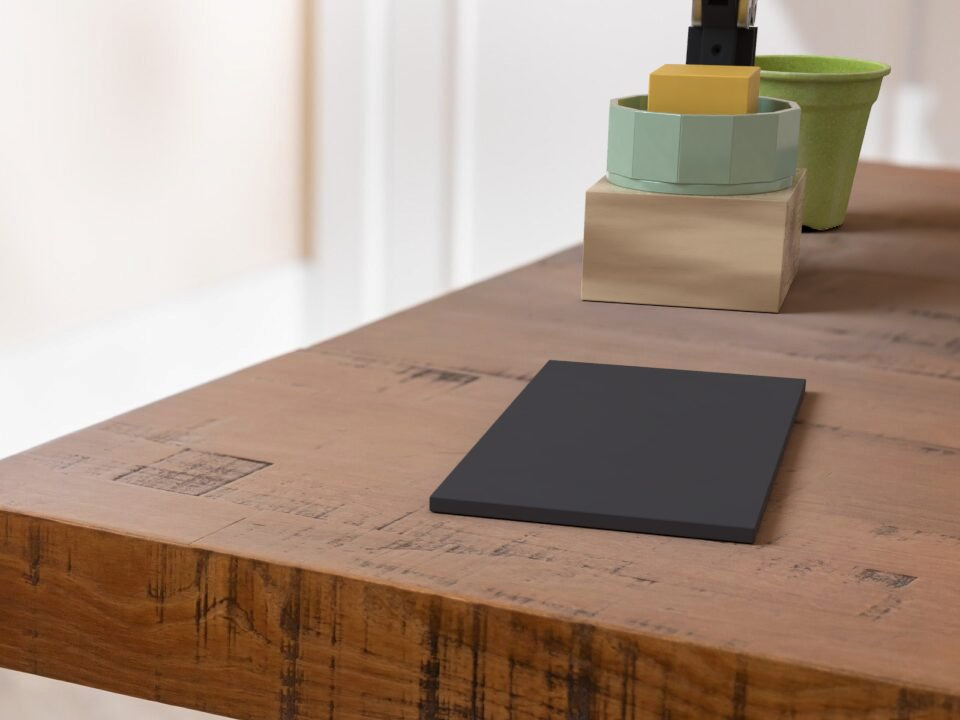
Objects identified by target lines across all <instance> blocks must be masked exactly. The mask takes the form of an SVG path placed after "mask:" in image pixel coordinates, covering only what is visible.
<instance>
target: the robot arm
mask: <svg viewBox="0 0 960 720" xmlns="http://www.w3.org/2000/svg"><path fill="white" fill-rule="evenodd" d="M757 9H758V0H692V1H691V18H690V19H691V20H690V22H691V23H690V24H691V25H690V26H688V28H687V41H686V55H685V65H718V66H752V67H754V66H755V55H757V54H756V53H757V42H758V33H759V32H758V30H759V26H755V24H756V18H757Z"/></svg>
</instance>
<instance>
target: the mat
mask: <svg viewBox="0 0 960 720" xmlns="http://www.w3.org/2000/svg"><path fill="white" fill-rule="evenodd" d="M806 386H807V379H806V378H797V377H784V376H782V377H781V376H772V375H771V376H770V375H759V374H758V375H757V374H744V373H732V372H731V373H729V372H719V371H718V372H717V371H703V370H690V369H679V368H678V369H676V368H666V367H665V368H664V367H651V366H638V365H625V364H610V363H600V362H599V363H597V362H586V361H585V362H582V361H571V360H559V359H548V360H547V362H545V364H544V365H543V366H542V367H541V368H540V370H538V372H537V373H536V374H535V376H533V378H532V379H531V380H530V381H529V382H528V383H527V385H525V387H524V388H523V389H522V390H521V391H520V393H518V395H517V396H516V397H515V398H514V399H513V401H511V403H510V404H509V405H508V406H507V407H506V409H504V411H503V412H502V413H501V414H500V415H499V416H498V417H497V418H496V420H495V422H493V423H492V424H491V426H490V427H489V428H488V429H487V430H486V432H485V433H484V434H483V435H482V436H481V437H480V438H479V439H478V441H477V442H476V443H475V444H474V445H473V446H472V448H471V449H469V451H468V452H467V453H466V455H464V457H463V458H462V459H461V460H460V461H459V462H458V464H457V465H456V466H455V467H454V468H453V469H452V470H451V472H450V473H449V474H448V475H447V476H446V477H445V478H444V479H443V480H442V482H441V483H440V484H439V485H438V486H437V488H436V489H435V490H434V491H433V492H432V493H431V495H430V496H429V504H428V510H429V512H433V513H434V512H435V513H445V514H454V515H455V514H456V515H464V516H474V517H475V516H476V517H484V518H496V519H503V520H504V519H505V520H515V521H524V522H534V523H546V524H554V525H555V524H556V525H564V526H576V527H586V528H593V529H594V528H596V529H605V530H613V531H614V530H616V531H624V532H625V531H627V532H635V533H645V534H656V535H664V536H665V535H667V536H674V537H675V536H676V537H685V538H694V539H695V538H696V539H703V540H704V539H706V540H714V541H726V542H736V543H744V544H745V543H746V544H754V543H755V541H756V537H757V534H758V532H759V528H760V525H761V523H762V519H763V517H764V514H765V511H766V508H767V505H768V502H769V499H770V496H771V493H772V491H773V487H774V484H775V481H776V478H777V475H778V472H779V469H780V467H781V464H782V461H783V457H784V455H785V451H786V448H787V446H788V444H789V440H790V437H791V435H792V431H793V428H794V426H795V422H796V420H797V416H798V413H799V411H800V407H801V405H802V401H803V398H804V396H805V392H806Z"/></svg>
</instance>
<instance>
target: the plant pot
mask: <svg viewBox="0 0 960 720" xmlns="http://www.w3.org/2000/svg"><path fill="white" fill-rule="evenodd" d="M754 67H760V68H761V73H760V86H759V96H764V97H771V98H777V99H782V100H787V101H793V102H797V104H798V105H799V106H800V108H801V117H800V129H799V141H798V152H797V164H796V168H807V173H806V184H805V196H804V207H803V219H802V226H806V227H809V228H810V229H812V230H814V229H826V228H829V229H833V227H834V228H837V227H836V226H838V227H840V226H842V225H843V224H844V221H845V218H846V214H847V211H848V206H849V202H850V198H851V193H852V189H853V184H854V179H855V175H856V172H857V168H858V163H859V159H860V155H861V151H862V148H863V143H864V140H865V136H866V130H867V126H868V124H869V123H868V122H869V118H870V115H871V112H872V108H873V105H874V104H875V103H876V102H877V101H878V98H879V95H880V92H881V91H880V90H881V87H882V83H883V80H884V77H887V76H889V75H890V74H891V71H892V66H891V64H887V63H886V62H882V61H876V60H870V59H863V58H855V57H848V56H838V55H837V56H835V55H816V54H756V55H755V66H754ZM841 224H842V225H841ZM839 225H840V226H839Z"/></svg>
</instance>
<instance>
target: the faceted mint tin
mask: <svg viewBox="0 0 960 720" xmlns="http://www.w3.org/2000/svg"><path fill="white" fill-rule="evenodd" d="M608 107H609V108H608V125H607V127H608V129H607V147H606V148H607V150H606V173H605V175H606V178H607V180H608V181H609V182H610V183H612V184H615V185H618V186H621V187H625V188H629V189H634V190H640V191H647V192H655V193H666V194H679V195H706V196H724V195H748V194H760V193H768V192H774V191H778V190H783V189H785V188H788V187H790V186H791V185H792V184H793V176H794V175H795V174H796V164H797V152H798V141H799V129H800V117H801V108H800V106H799V105H798V104H797V102H793V101H787V100H782V99H777V98H771V97H764V96H759V99H758V112H757V113H752V114H735V115H723V114H679V113H667V112H656V111H647V108H648V93H644V94H643V93H642V94H632V95H626V96H621V97H615V98H610V99H609V106H608Z"/></svg>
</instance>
